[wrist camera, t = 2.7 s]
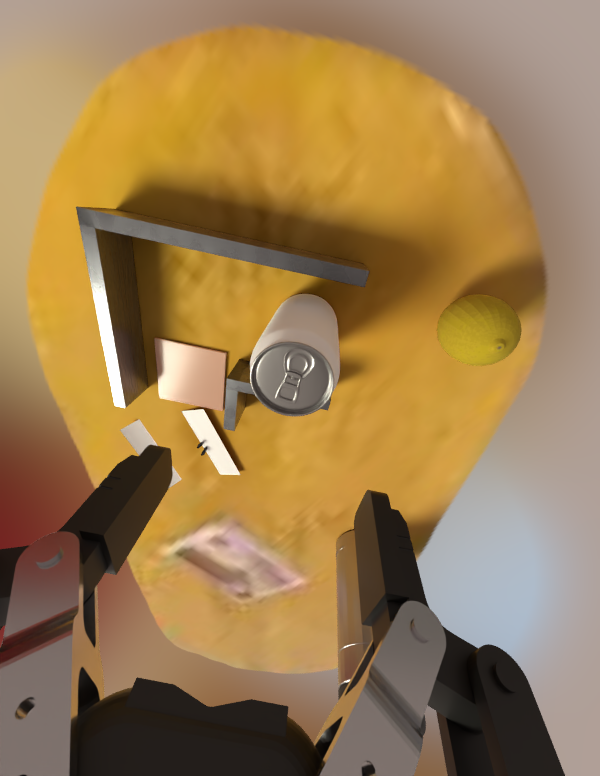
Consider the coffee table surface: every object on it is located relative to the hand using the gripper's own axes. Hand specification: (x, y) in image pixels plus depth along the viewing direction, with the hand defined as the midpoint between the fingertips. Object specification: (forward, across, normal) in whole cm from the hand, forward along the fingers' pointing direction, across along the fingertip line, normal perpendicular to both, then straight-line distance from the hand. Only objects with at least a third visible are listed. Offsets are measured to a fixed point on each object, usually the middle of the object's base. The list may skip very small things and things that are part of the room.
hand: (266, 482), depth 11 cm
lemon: (+20, -14, -4) cm, 25 cm away
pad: (+20, +12, +9) cm, 25 cm away
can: (+20, 0, 0) cm, 21 cm away
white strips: (+21, +13, +21) cm, 32 cm away
